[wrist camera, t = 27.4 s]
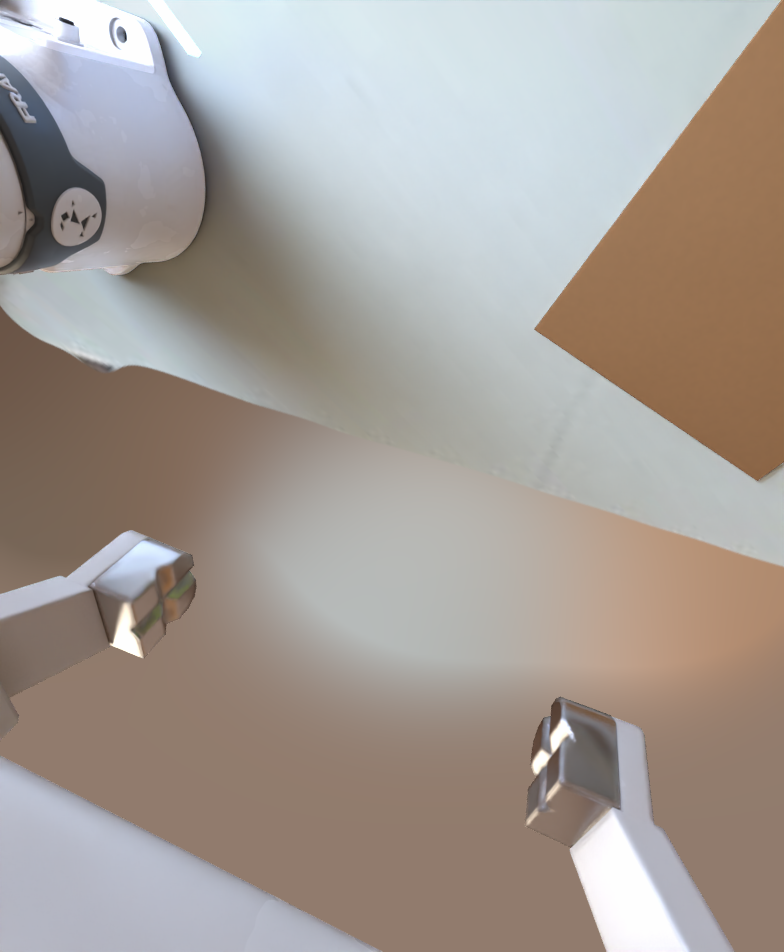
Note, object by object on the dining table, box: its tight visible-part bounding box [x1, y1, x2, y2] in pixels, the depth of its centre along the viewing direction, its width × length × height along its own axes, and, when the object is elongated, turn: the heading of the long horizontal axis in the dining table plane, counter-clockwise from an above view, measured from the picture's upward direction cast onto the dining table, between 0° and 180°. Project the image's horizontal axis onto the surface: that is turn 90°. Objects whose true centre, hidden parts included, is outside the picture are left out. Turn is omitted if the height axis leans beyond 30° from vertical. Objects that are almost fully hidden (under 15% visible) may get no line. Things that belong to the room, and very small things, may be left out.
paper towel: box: [534, 0, 784, 481], centre depth 30 cm, size 20×20×1 cm
